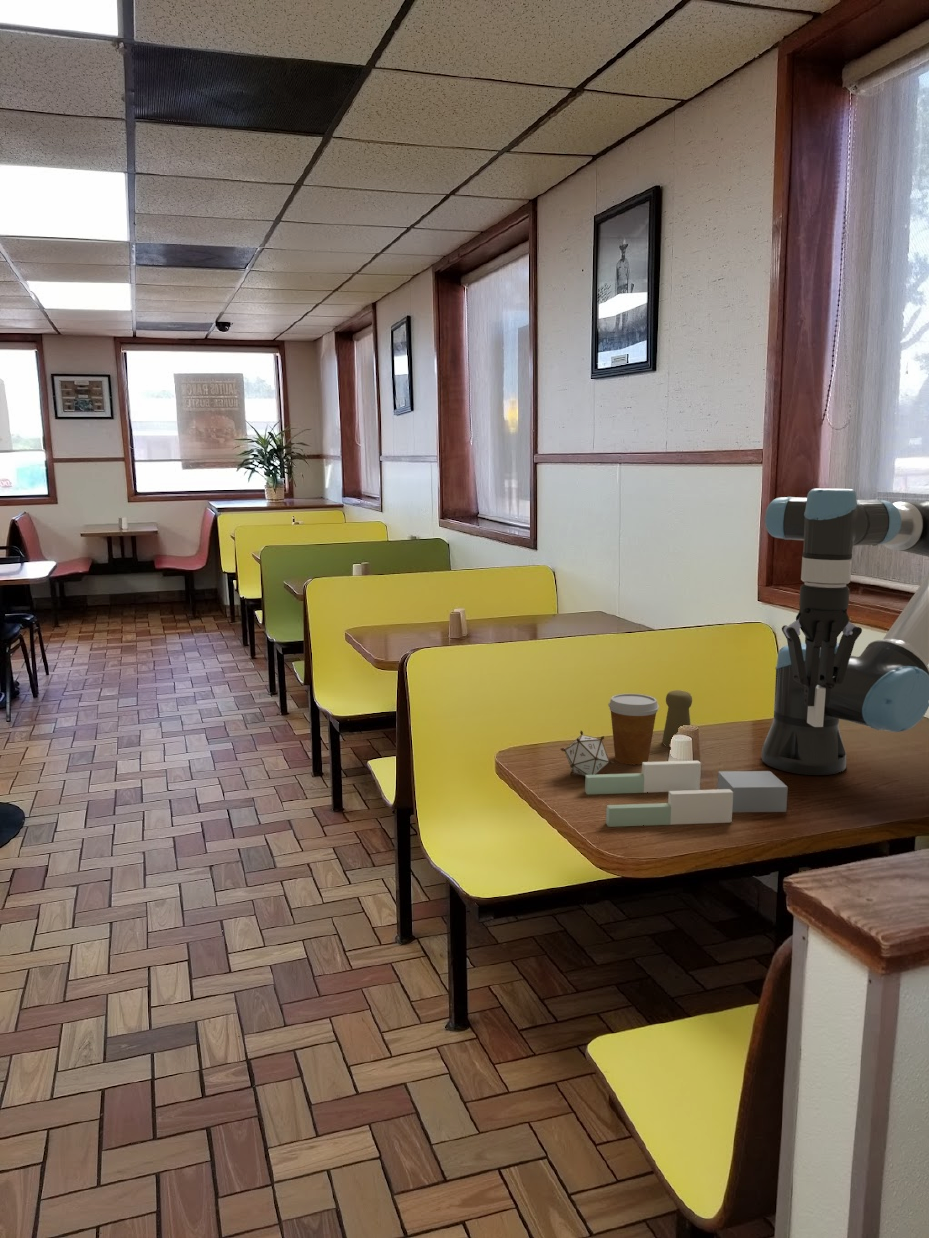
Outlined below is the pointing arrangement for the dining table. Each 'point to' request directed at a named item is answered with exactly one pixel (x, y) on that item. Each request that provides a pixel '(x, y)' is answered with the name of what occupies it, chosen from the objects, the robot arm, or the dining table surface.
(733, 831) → the dining table surface
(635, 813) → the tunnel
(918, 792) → the dining table surface
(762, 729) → the dining table surface
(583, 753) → the game die
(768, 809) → the slate block
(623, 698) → the disposable coffee cup
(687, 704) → the pepper mill
